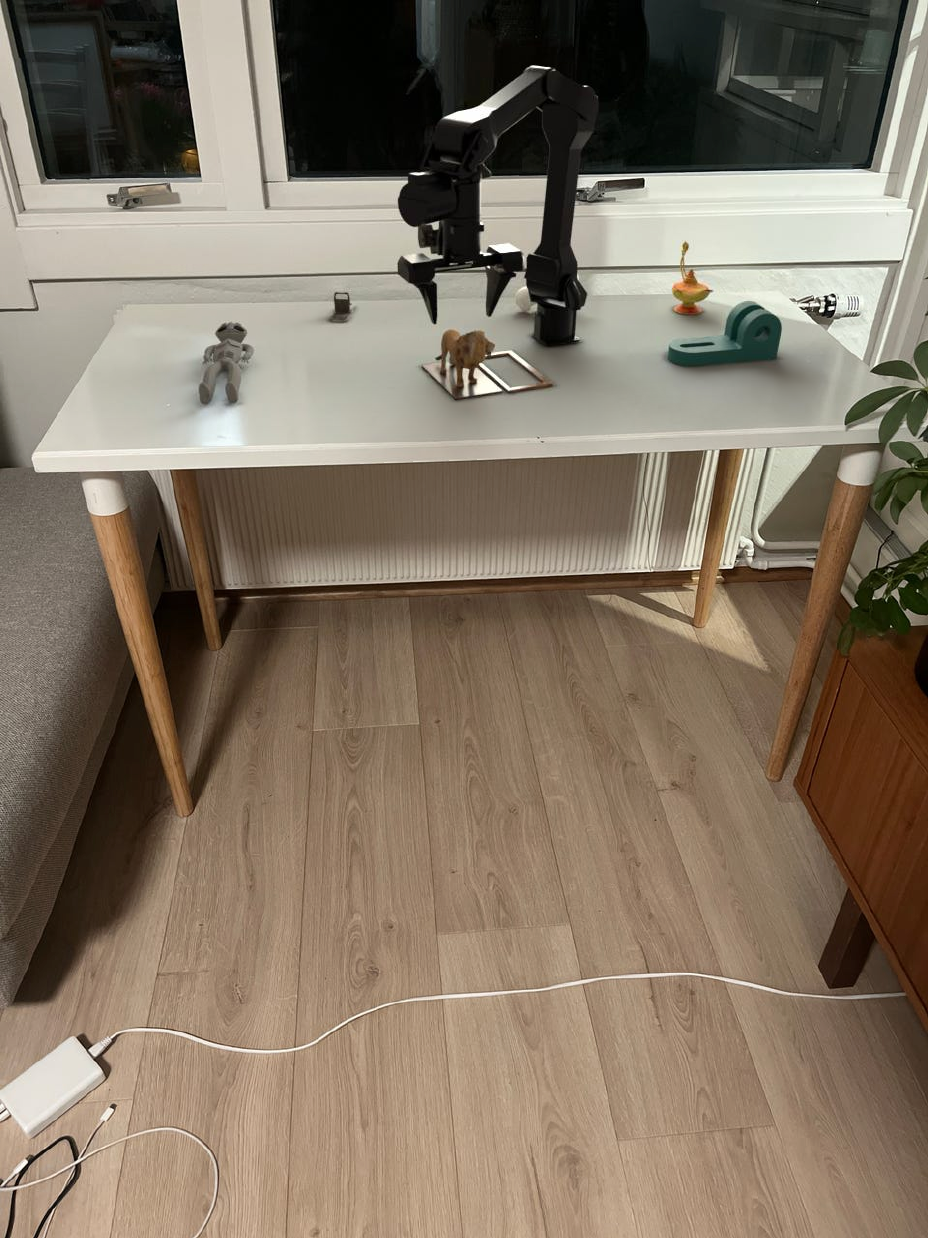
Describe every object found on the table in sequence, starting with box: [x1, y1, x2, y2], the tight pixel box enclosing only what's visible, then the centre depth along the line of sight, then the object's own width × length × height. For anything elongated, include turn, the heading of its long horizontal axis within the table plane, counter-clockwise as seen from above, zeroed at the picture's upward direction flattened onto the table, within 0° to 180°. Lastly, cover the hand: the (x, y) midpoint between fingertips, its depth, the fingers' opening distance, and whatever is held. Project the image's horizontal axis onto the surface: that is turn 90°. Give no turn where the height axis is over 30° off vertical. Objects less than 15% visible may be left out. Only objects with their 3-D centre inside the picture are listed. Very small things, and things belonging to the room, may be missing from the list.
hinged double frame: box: [421, 350, 554, 401], centre depth 157 cm, size 16×16×1 cm
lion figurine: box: [434, 328, 496, 387], centre depth 153 cm, size 15×5×9 cm, turn 33°
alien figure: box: [198, 321, 255, 405], centre depth 156 cm, size 8×5×25 cm
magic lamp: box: [671, 240, 714, 316], centre depth 179 cm, size 7×18×11 cm, turn 7°
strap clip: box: [331, 291, 355, 322], centre depth 180 cm, size 8×3×4 cm, turn 174°
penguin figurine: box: [514, 272, 580, 314], centre depth 180 cm, size 6×8×12 cm
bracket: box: [667, 300, 783, 367], centre depth 162 cm, size 18×7×8 cm, turn 103°
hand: (461, 319), depth 150 cm, fingers open, 9 cm apart
